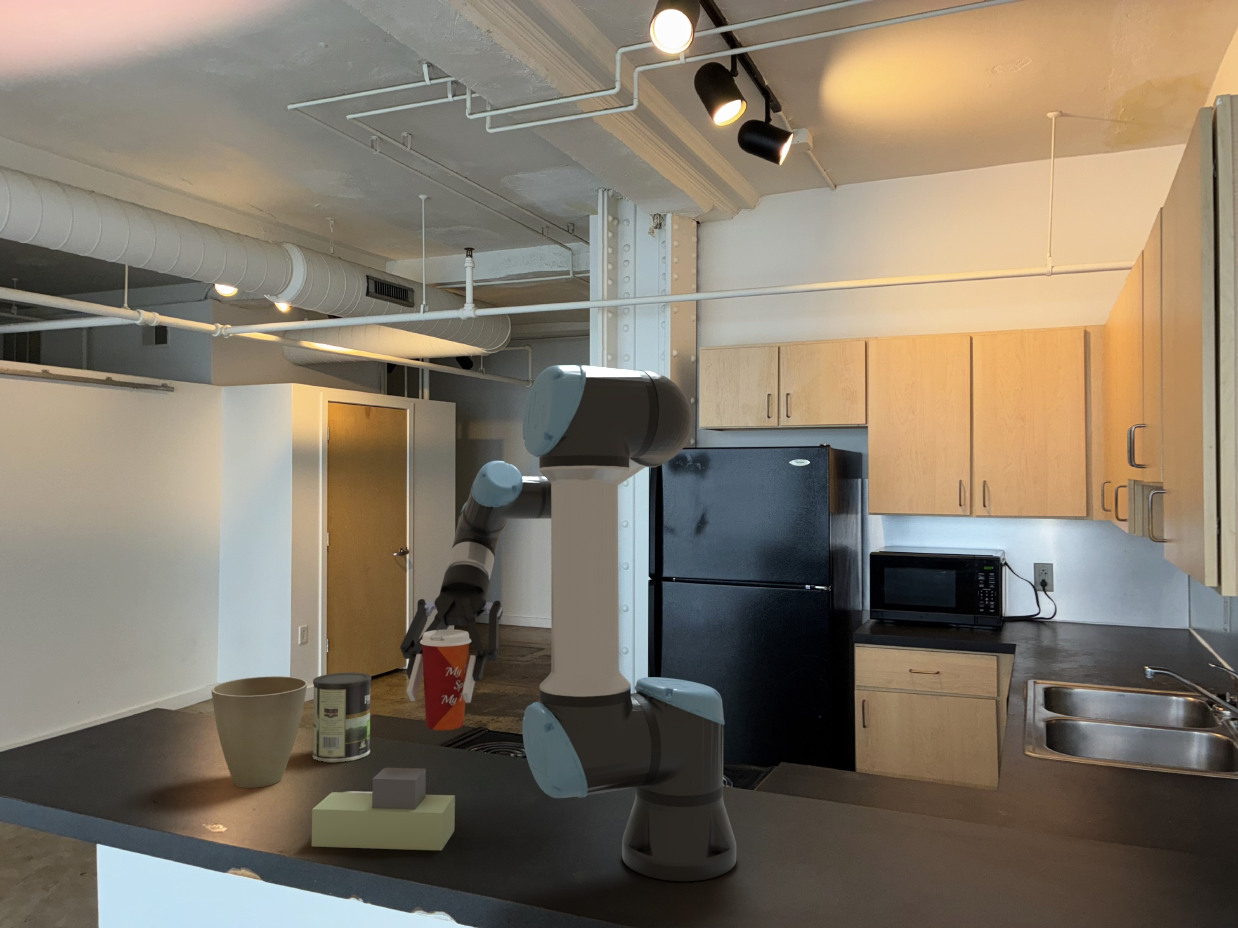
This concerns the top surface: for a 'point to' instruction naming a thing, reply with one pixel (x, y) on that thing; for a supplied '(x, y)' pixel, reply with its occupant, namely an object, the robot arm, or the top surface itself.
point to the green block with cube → (386, 815)
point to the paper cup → (445, 677)
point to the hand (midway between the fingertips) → (438, 696)
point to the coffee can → (341, 717)
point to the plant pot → (258, 726)
